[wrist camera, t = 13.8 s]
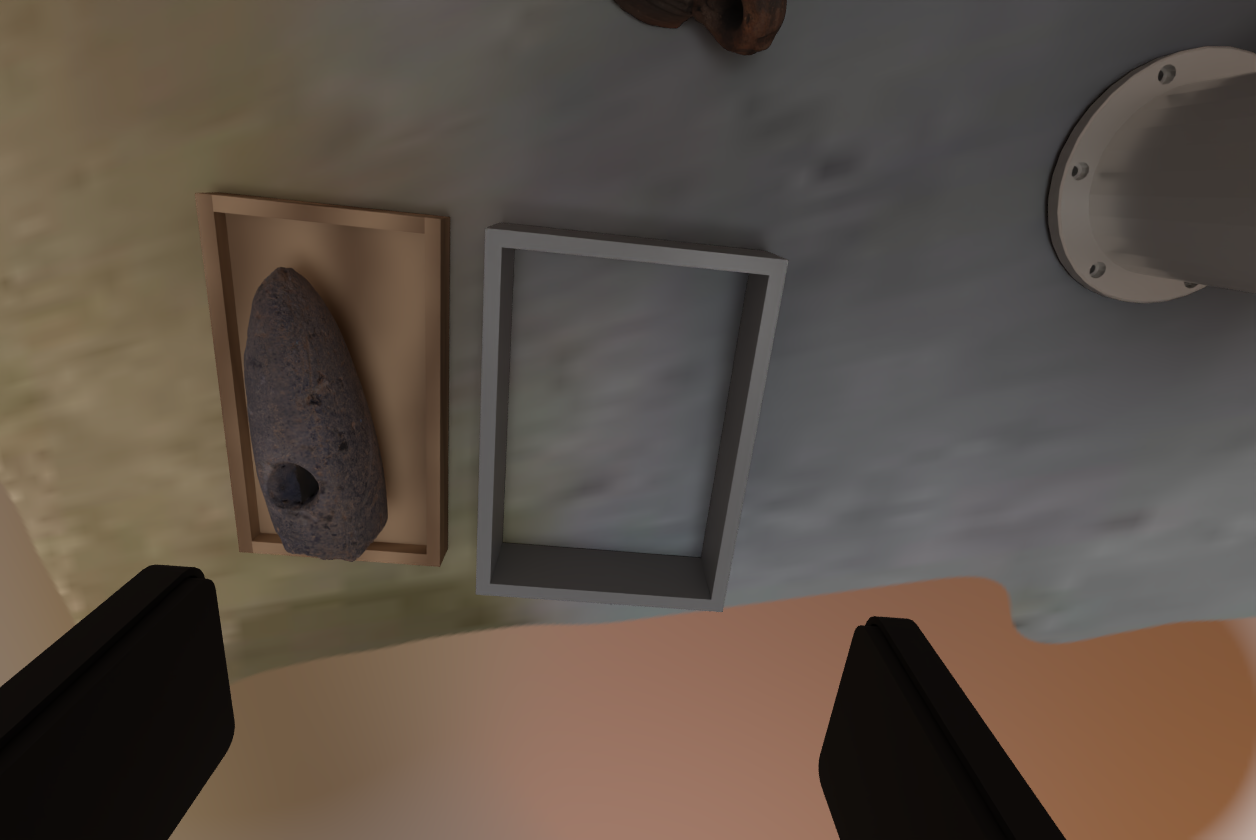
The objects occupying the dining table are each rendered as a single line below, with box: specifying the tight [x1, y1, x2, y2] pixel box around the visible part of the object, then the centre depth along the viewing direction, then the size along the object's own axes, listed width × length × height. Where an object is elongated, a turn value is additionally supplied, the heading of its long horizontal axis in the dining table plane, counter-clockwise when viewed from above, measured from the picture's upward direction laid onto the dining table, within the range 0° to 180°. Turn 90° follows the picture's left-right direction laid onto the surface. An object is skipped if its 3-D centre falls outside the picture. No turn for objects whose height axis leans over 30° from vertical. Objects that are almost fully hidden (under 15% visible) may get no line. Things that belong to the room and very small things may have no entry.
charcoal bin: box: [476, 223, 788, 612], centre depth 36 cm, size 15×21×4 cm
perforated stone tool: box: [244, 267, 388, 562], centre depth 33 cm, size 15×5×7 cm, turn 3°
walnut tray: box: [195, 192, 450, 567], centre depth 36 cm, size 12×21×2 cm, turn 174°
